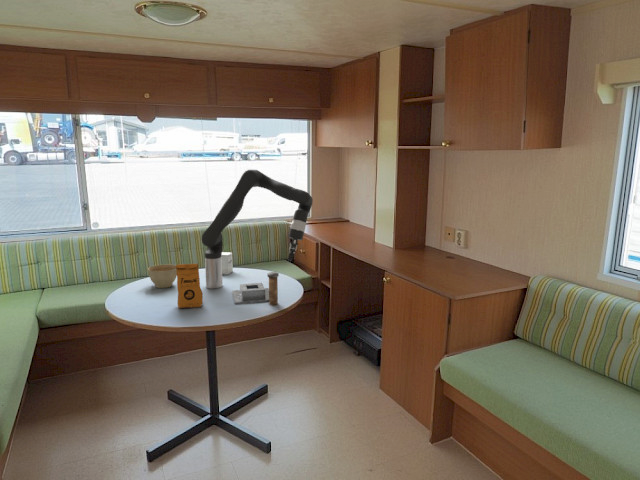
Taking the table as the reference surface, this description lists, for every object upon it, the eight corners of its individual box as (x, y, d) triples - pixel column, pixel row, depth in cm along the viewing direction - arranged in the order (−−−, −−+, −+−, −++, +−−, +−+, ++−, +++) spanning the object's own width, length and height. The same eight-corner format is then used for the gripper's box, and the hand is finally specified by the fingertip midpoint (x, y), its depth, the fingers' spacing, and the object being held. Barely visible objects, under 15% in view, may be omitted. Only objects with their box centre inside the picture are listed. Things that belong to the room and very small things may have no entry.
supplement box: (228, 274, 286) (228, 255, 284) (217, 273, 288) (216, 254, 285) (233, 271, 293) (232, 252, 291) (222, 270, 295) (221, 251, 292)
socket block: (235, 304, 232) (234, 294, 231) (232, 292, 251) (231, 282, 250) (274, 301, 237) (273, 291, 236) (268, 289, 256) (268, 280, 255)
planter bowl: (177, 289, 257) (176, 270, 254) (147, 291, 253) (146, 272, 251) (179, 281, 272) (178, 263, 270) (150, 282, 268) (149, 264, 266)
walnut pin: (268, 306, 230) (268, 275, 227) (267, 302, 235) (266, 272, 232) (279, 305, 231) (279, 274, 228) (277, 301, 236) (277, 271, 233)
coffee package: (202, 308, 225) (200, 265, 221) (176, 310, 223) (173, 266, 219) (204, 302, 235) (202, 260, 231) (179, 303, 233) (176, 261, 229)
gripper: (289, 229, 241) (282, 259, 239) (290, 226, 226) (282, 258, 225) (303, 233, 241) (296, 263, 239) (305, 230, 227) (297, 261, 225)
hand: (289, 260), depth 232 cm, fingers open, 8 cm apart
